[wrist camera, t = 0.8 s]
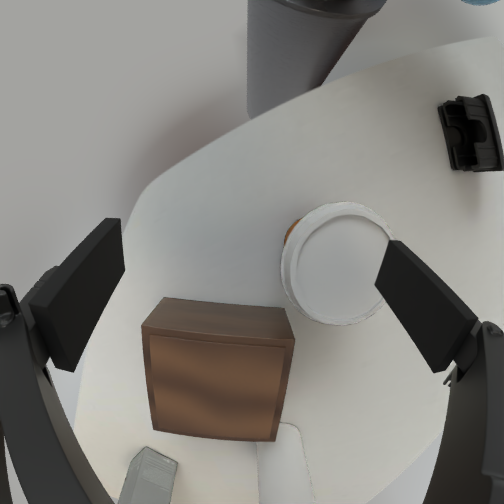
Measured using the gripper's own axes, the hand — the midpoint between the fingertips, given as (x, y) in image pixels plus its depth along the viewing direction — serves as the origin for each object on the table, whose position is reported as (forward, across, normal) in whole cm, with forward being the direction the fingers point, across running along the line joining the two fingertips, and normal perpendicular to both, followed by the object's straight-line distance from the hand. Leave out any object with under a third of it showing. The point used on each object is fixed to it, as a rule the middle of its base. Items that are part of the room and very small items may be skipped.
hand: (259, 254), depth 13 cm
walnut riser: (+13, -1, -21) cm, 24 cm away
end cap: (+20, +29, +10) cm, 37 cm away
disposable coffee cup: (+16, +8, -6) cm, 19 cm away
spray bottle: (+8, +8, -34) cm, 36 cm away
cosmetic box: (+6, -12, -46) cm, 48 cm away
